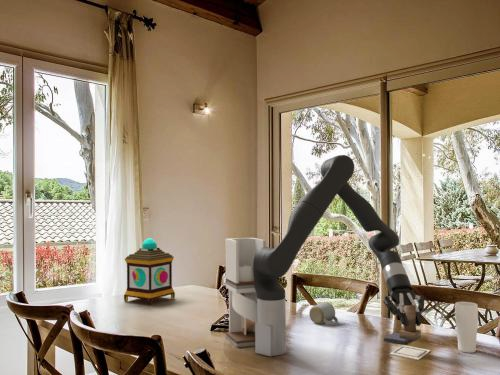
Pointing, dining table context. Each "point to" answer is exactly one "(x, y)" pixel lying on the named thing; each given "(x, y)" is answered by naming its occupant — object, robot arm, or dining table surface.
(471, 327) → the drinking glass
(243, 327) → the white tiered stand
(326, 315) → the ceramic mug
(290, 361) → the dining table surface
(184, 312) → the dining table surface
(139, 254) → the decorative lantern
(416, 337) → the stamp
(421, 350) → the label card
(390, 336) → the ink pad
